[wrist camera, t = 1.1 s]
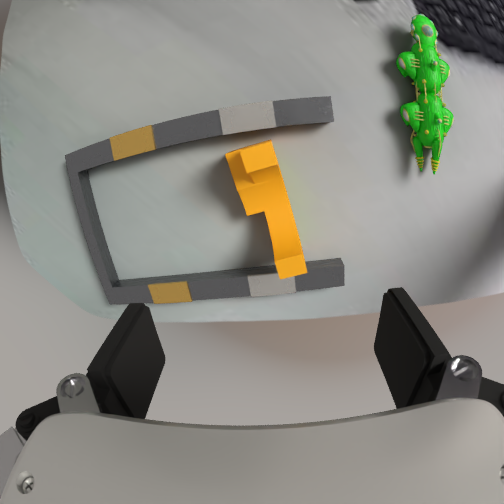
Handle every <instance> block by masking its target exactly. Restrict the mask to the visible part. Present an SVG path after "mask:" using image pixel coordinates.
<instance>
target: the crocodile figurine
mask: <svg viewBox="0 0 504 504" xmlns="http://www.w3.org/2000/svg"><path fill="white" fill-rule="evenodd" d="M411 29H412V30H411V32H410V33H411V34H412V36H413V38H414V39H415V40H416V43H415V44H414V45H413V46H412V48H411V52H403V53H401V54H399V57H398V58H397V60H396V64H397V67H398V69H399V71H400V72H401V74H402V75H403V76H404V77H406V76H410V77H411V78H412V79H413V80H414V82H413V83H412V85H414V86H415V89H416V88H417V90H416V101H413V102H411V103H407V104H404V105H402V106H401V108H400V114H401V117H402V119H403V121H404V122H405V124H406V125H407V126H409V125H410V126H411V127H412V128H413V133H412V136H415V135H417V136H415V137H414V138H413V137H412V136H411V138H412V140H413V141H411V143H412V146H413V145H414V146H413V149H415V150H414V152H415V153H416V156H417V157H416V158H415V159H417V160H418V161H416V162H418V164H417V165H419V168H420V171H422V167H423V166H422V165H424V164H423V163H422V162H424V160H422V159H423V158H424V157H423V146H424V147H426V148H429V149H432V158H431V165H432V170H433V174H435V171H437V169H438V167H437V166H439V164H438V163H440V161H439V157H440V153H441V149H442V143H443V140H444V137H445V136H447V134H446V133H447V132H448V130H449V129H450V127H452V126H453V123H454V120H453V114H452V113H451V112H450V111H449V110H448V109H446V108H444V107H445V106H446V104H445V103H442V101H441V100H442V90H441V92H440V89H441V87H444V86H445V85H444V84H443V83H444V82H445V81H446V79H447V78H449V76H450V69H449V66H448V64H447V63H446V62H445V61H443V60H441V59H439V56H441V54H440V53H437V47H436V44H437V40H436V37H437V36H438V32H437V31H436V28H435V26H434V24H433V22H432V21H431V20H429V19H428V18H427V17H425V16H424V15H423V14H419V15H416V16H413V17H412V22H411ZM434 46H435V47H436V49H435V48H434ZM418 90H419V91H420V92H421V94H419V93H418ZM438 92H439V93H438ZM437 93H438V94H439V96H437V95H436V94H437ZM440 93H441V96H440ZM418 94H419V95H418ZM440 97H441V99H440ZM414 132H415V133H417V134H414ZM413 134H414V135H413Z"/></svg>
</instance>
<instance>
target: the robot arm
mask: <svg viewBox="0 0 504 504" xmlns="http://www.w3.org/2000/svg"><path fill="white" fill-rule="evenodd" d="M374 351H375V354H376V357H377V359H378V362H379V364H380V366H381V369H382V371H383V374H384V376H385V379H386V381H387V384H388V387H389V389H390V392H391V394H392V397H393V400H394V402H395V405H396V408H397V409H394V410H390V411H384V412H379V413H374V414H369V415H363V416H357V417H350V418H345V419H336V420H329V421H320V422H310V423H298V424H283V425H258V426H225V425H200V424H185V423H173V422H163V421H155V420H147V419H145V417H146V414H147V411H148V408H149V405H150V403H151V400H152V397H153V394H154V391H155V389H156V386H157V383H158V380H159V378H160V375H161V372H162V369H163V366H164V364H165V355H164V352H163V349H162V346H161V343H160V340H159V337H158V334H157V331H156V328H155V325H154V322H153V319H152V316H151V312H150V309H149V307H147V306H145V304H144V303H130V304H129V305H128V306H127V308H126V309H125V311H124V312H123V314H122V315H121V317H120V318H119V320H118V321H117V323H116V324H115V326H114V327H113V329H112V330H111V332H110V334H109V335H108V336H107V338H106V340H105V341H104V343H103V344H102V346H101V348H100V349H99V351H98V352H97V354H96V355H95V357H94V359H93V360H92V362H91V364H90V365H89V367H88V369H87V370H88V373H87V374H86V376H85V375H83V374H80V373H75V374H71V375H68V376H66V377H65V378H64V379H62V380H61V381H60V383H59V384H58V386H57V396H56V397H53V398H51V399H49V400H47V401H45V402H43V403H40V404H38V405H36V406H33V407H31V408H28V409H26V410H25V411H23V412H22V413H21V414H20V415H19V416H18V418H17V421H16V428H15V429H14V428H13V427H11V428H9V429H8V430H7V431H5V432H4V433H3V434H2V435H0V504H504V384H500V383H498V382H495V381H492V380H489V379H487V378H484V377H482V369H481V366H480V365H479V363H478V362H477V361H476V360H474V359H473V358H471V357H468V356H463V355H460V356H456V357H453V358H452V357H451V356H450V354H449V352H448V351H447V349H446V348H445V346H444V345H443V343H442V342H441V340H440V339H439V337H438V336H437V334H436V333H435V331H434V330H433V328H432V327H431V325H430V324H429V323H428V321H427V320H426V319H425V317H424V316H423V314H422V313H421V311H420V310H419V309H418V307H417V306H416V305H415V303H414V302H413V300H412V299H411V298H410V296H409V295H408V294H407V292H406V291H405V290H404V289H403V288H402V287H400V288H391V289H388V291H387V293H384V295H383V301H382V307H381V312H380V318H379V324H378V328H377V333H376V338H375V343H374Z"/></svg>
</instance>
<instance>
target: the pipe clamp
mask: <svg viewBox="0 0 504 504" xmlns="http://www.w3.org/2000/svg"><path fill="white" fill-rule="evenodd" d="M225 155H226V158H227V161H228V164H229V167H230V170H231V173H232V176H233V179H234V182H235V185H236V188H237V191H238V193H239V195H240V197H241V200H242V202H243V205H244V208H245V211H246V214H247V216H249V215H252V214H256V213H259V212H263V211H264V212H265V215H266V219H267V223H268V227H269V231H270V235H271V240H272V245H273V251H274V261H275V265H276V268H277V271H278V274H279V278H280V279H285V278H289V277H293V276H297V275H301V274H305V273H307V268H306V264H305V259H304V255H303V250H302V246H301V242H300V239H299V235H298V231H297V227H296V224H295V220H294V216H293V213H292V209H291V206H290V202H289V198H288V195H287V191H286V188H285V185H284V181H283V178H282V174H281V171H280V168H279V164H278V161H277V158H276V154H275V151H274V148H273V145H272V141H271V140H267V141H264V142H261V143H257V144H254V145H250V146H247V147H244V148H241V149H237V150H234V151H231V152H229V153H227V154H225Z"/></svg>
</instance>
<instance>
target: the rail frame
mask: <svg viewBox="0 0 504 504" xmlns="http://www.w3.org/2000/svg"><path fill="white" fill-rule="evenodd" d="M325 122H334V117H333V110H332V103H331V96H329V97H312V98H299V99H289V100H279V101H265V102H258V103H251V104H244V105H238V106H232V107H227V108H221V109H219V110H214V111H209V112H205V113H200V114H195V115H191V116H186V117H182V118H178V119H174V120H170V121H166V122H162V123H159V124H155V125H149V126H145V127H142V128H139V129H135V130H132V131H129V132H126V133H123V134H119V135H116V136H113V137H111V138H110V139H107V140H104V141H101V142H98V143H95V144H93V145H90V146H87V147H85V148H82V149H80V150H77V151H75V152H72V153H70V154H67V155H65V159H66V164H67V169H68V174H69V178H70V183H71V187H72V191H73V195H74V199H75V203H76V207H77V210H78V214H79V217H80V221H81V224H82V228H83V231H84V234H85V237H86V241H87V244H88V247H89V250H90V253H91V256H92V259H93V261H94V264H95V267H96V270H97V273H98V275H99V278H100V281H101V283H102V286H103V288H104V291H105V293H106V296H107V298H108V301H109V303H110V304H130V303H154V304H160V303H178V302H192V300H204V299H218V298H230V297H242V296H251V297H257V296H268V295H278V294H288V293H296V291H304V290H313V289H321V288H330V287H338V286H344V264H343V262H342V260H341V258H336V259H327V260H318V261H309V262H305V264H306V268H307V273H305V274H301V275H297V276H293V277H289V278H285V279H280V278H279V274H278V271H277V268H276V265H272V266H263V267H253V268H244V269H234V270H224V271H214V272H203V273H193V274H182V275H172V276H161V277H149V278H138V279H126V280H119V279H118V276H117V273H116V270H115V267H114V264H113V262H112V259H111V256H110V252H109V249H108V246H107V243H106V240H105V237H104V233H103V230H102V227H101V223H100V220H99V216H98V212H97V209H96V205H95V201H94V197H93V193H92V189H91V185H90V180H89V176H88V171H87V169H90V168H93V167H96V166H99V165H102V164H105V163H108V162H111V161H115V160H119V159H122V158H126V157H129V156H133V155H136V154H140V153H144V152H148V151H151V150H155V149H159V148H163V147H167V146H171V145H175V144H180V143H184V142H189V141H194V140H199V139H204V138H209V137H214V136H220V135H226V134H232V133H239V132H245V131H252V130H259V129H266V128H274V127H281V126H290V125H300V124H311V123H325Z"/></svg>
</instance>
